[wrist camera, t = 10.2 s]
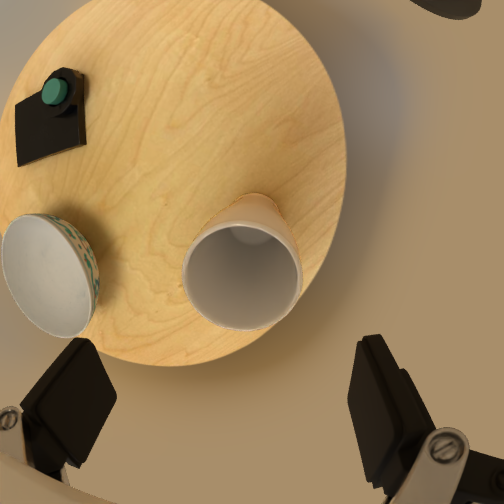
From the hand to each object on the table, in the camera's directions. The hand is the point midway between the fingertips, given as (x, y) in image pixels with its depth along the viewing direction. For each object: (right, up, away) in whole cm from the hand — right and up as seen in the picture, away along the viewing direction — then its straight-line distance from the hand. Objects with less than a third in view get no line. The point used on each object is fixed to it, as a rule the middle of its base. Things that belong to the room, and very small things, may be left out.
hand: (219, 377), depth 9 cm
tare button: (-21, +22, +14) cm, 33 cm away
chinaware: (-22, +4, +23) cm, 32 cm away
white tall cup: (+1, +8, +21) cm, 22 cm away
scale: (-24, +20, +17) cm, 36 cm away
